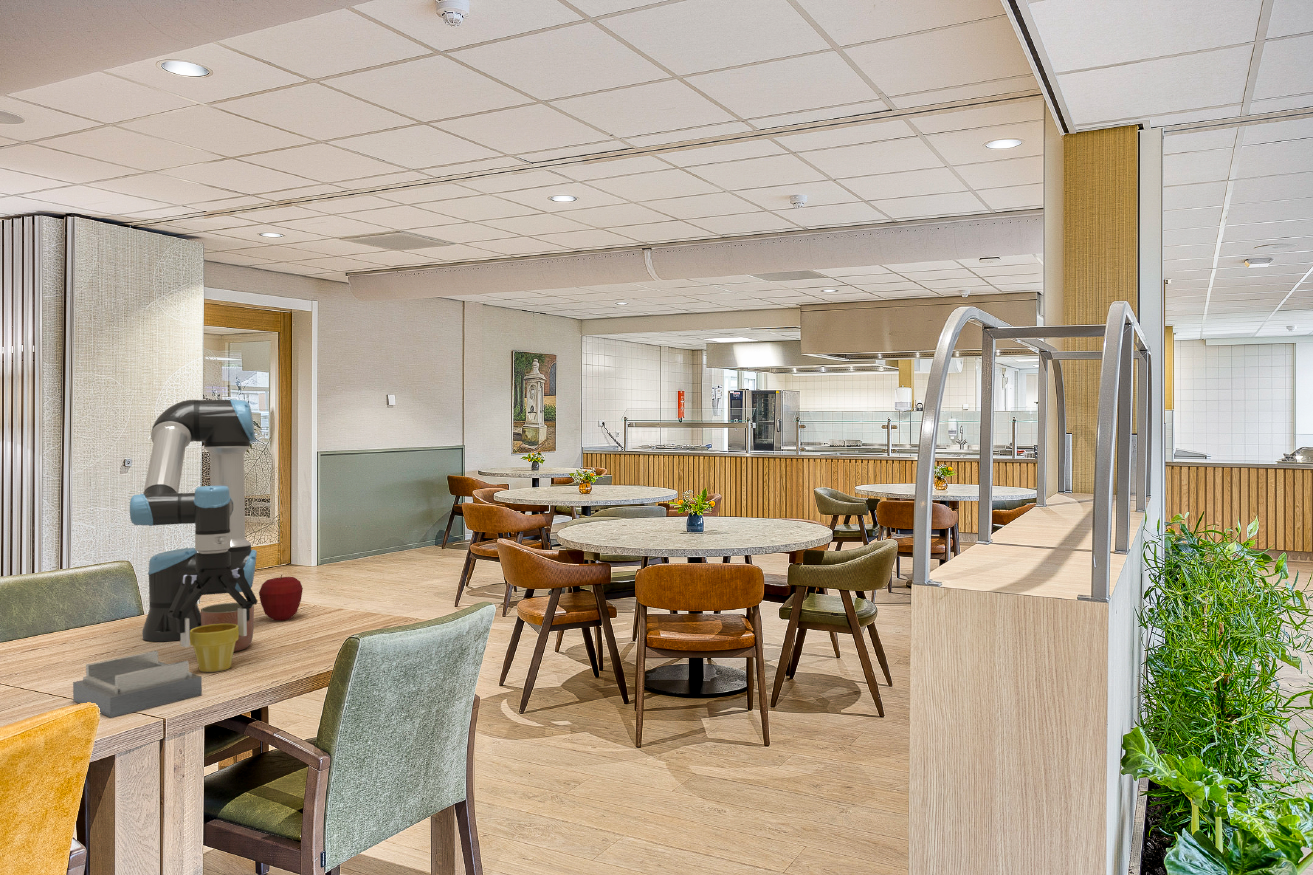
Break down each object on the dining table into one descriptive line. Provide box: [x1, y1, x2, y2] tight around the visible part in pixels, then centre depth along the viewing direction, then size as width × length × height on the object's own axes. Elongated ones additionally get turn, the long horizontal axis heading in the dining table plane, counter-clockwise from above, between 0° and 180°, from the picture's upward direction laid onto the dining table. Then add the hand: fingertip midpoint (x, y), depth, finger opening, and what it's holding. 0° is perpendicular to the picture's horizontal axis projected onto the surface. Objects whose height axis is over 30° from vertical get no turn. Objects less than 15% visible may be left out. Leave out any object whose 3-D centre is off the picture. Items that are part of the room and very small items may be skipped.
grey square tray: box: [72, 650, 203, 719], centre depth 190 cm, size 19×18×8 cm
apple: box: [258, 574, 304, 622], centre depth 264 cm, size 12×12×13 cm
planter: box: [200, 602, 255, 653], centre depth 230 cm, size 12×12×11 cm
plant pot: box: [190, 623, 239, 673], centre depth 212 cm, size 10×10×10 cm
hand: (214, 640), depth 212 cm, fingers open, 13 cm apart
